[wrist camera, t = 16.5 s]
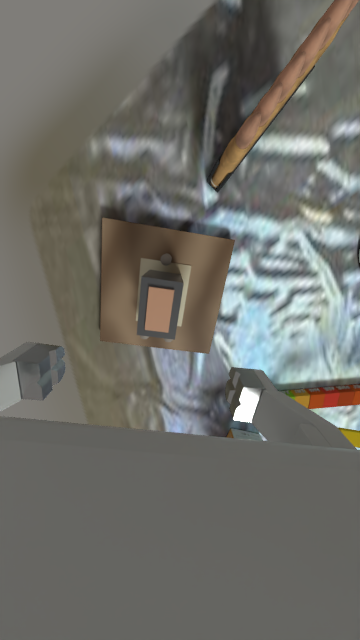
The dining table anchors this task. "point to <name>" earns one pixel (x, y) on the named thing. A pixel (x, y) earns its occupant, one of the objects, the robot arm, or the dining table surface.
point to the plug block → (159, 304)
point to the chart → (330, 402)
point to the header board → (168, 256)
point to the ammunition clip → (280, 91)
